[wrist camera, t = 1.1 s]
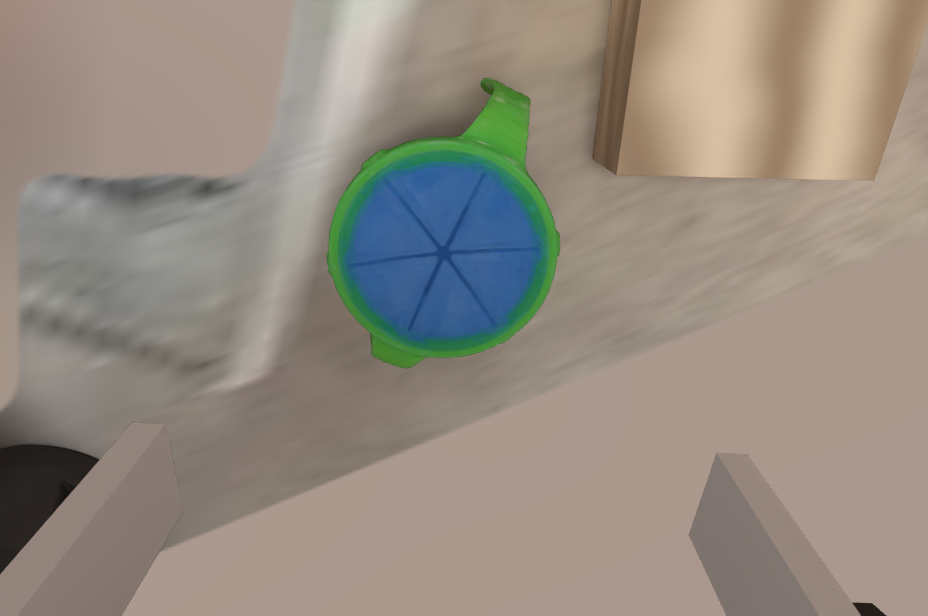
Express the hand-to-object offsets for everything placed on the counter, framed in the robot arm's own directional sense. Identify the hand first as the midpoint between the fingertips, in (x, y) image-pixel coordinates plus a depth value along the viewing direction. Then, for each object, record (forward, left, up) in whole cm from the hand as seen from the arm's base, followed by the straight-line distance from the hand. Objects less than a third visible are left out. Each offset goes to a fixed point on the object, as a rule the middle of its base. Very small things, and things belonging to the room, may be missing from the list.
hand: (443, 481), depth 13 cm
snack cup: (0, +1, -24) cm, 24 cm away
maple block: (+16, +11, -23) cm, 30 cm away
